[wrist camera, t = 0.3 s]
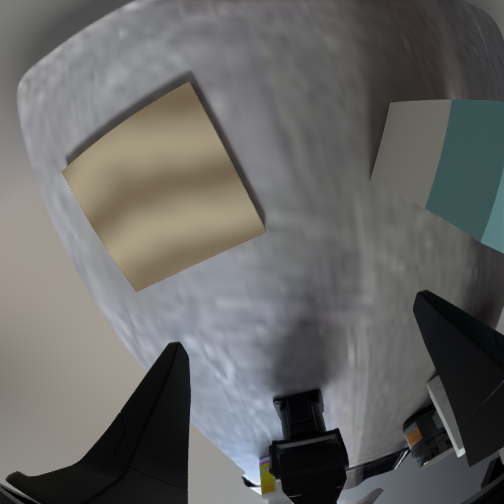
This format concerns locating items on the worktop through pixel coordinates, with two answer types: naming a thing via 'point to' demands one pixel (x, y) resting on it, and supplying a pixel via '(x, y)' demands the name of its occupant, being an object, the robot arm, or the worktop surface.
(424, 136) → the cream storage box
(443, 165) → the aqua cube
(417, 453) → the supplement container
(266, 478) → the supplement bottle
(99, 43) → the worktop surface
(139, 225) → the oak board
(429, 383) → the skincare box
